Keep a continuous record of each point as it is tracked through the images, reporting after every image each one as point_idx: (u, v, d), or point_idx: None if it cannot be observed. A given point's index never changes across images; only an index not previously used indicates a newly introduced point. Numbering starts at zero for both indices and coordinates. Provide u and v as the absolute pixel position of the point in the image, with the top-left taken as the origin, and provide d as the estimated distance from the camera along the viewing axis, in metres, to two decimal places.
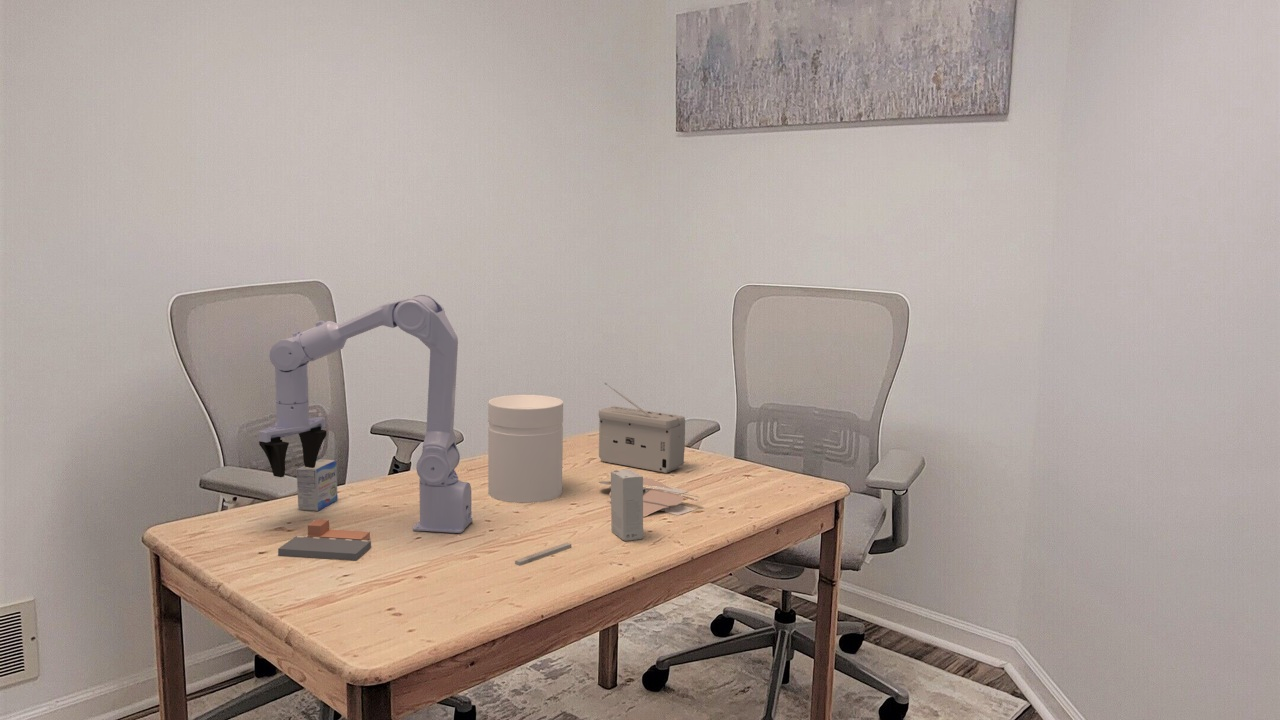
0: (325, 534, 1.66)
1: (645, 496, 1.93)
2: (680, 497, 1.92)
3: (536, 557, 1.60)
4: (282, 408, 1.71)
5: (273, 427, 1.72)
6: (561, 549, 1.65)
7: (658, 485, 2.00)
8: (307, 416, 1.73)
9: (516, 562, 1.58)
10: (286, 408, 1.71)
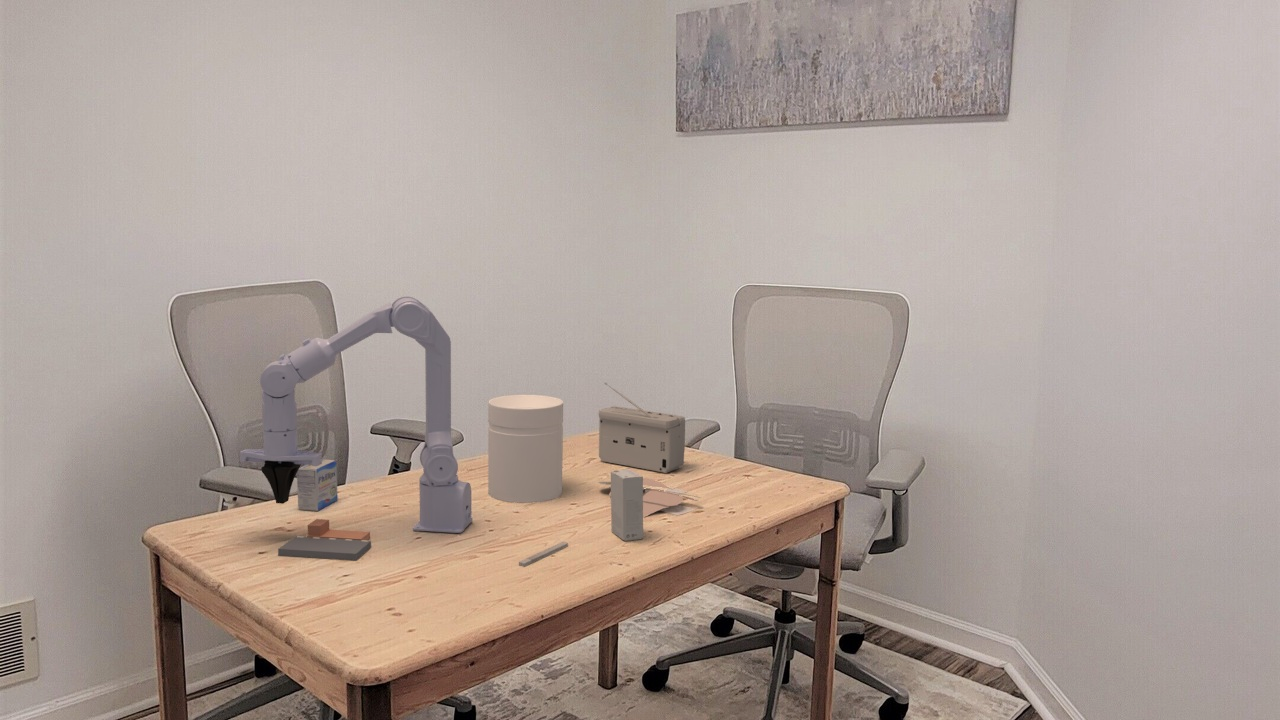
0: (325, 534, 1.66)
1: (645, 496, 1.93)
2: (680, 497, 1.92)
3: (538, 558, 1.60)
4: None
5: None
6: (559, 548, 1.65)
7: (658, 485, 2.00)
8: (278, 447, 1.63)
9: (520, 563, 1.57)
10: (263, 433, 1.64)
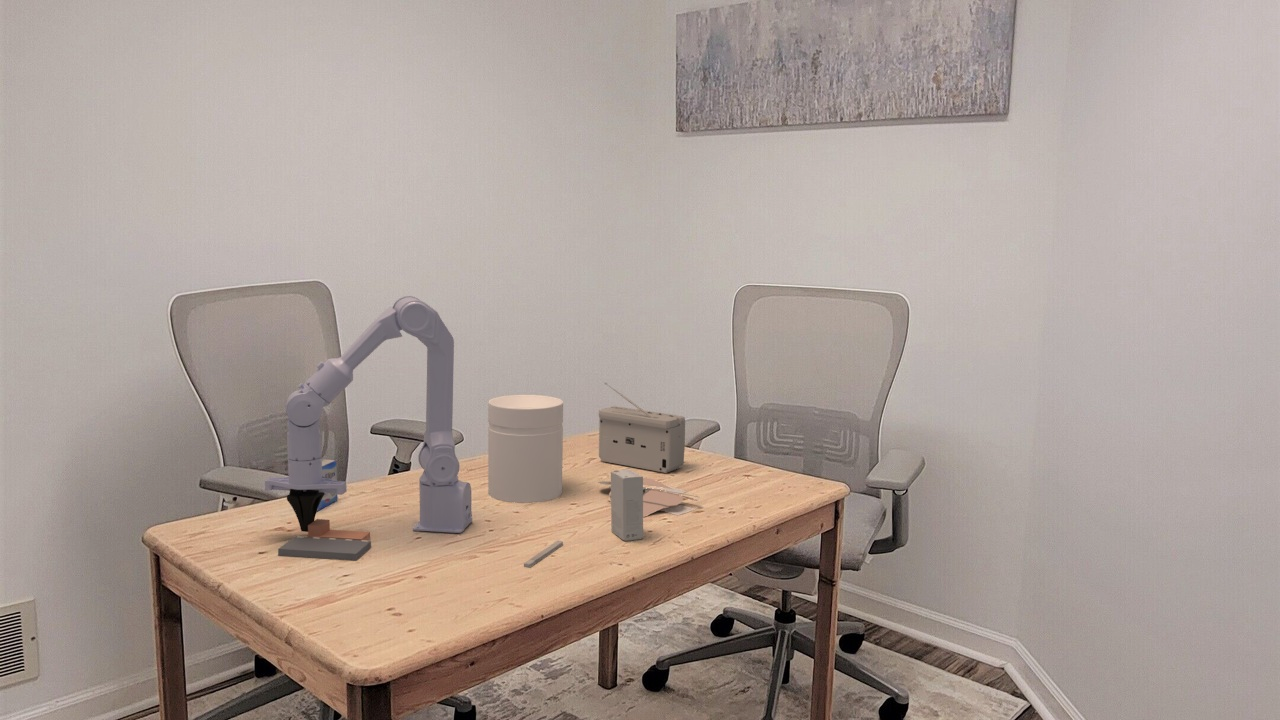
0: (325, 534, 1.66)
1: (645, 496, 1.93)
2: (680, 497, 1.92)
3: (540, 558, 1.60)
4: None
5: None
6: (556, 547, 1.65)
7: (658, 485, 2.00)
8: (304, 476, 1.63)
9: (525, 565, 1.56)
10: (288, 462, 1.65)
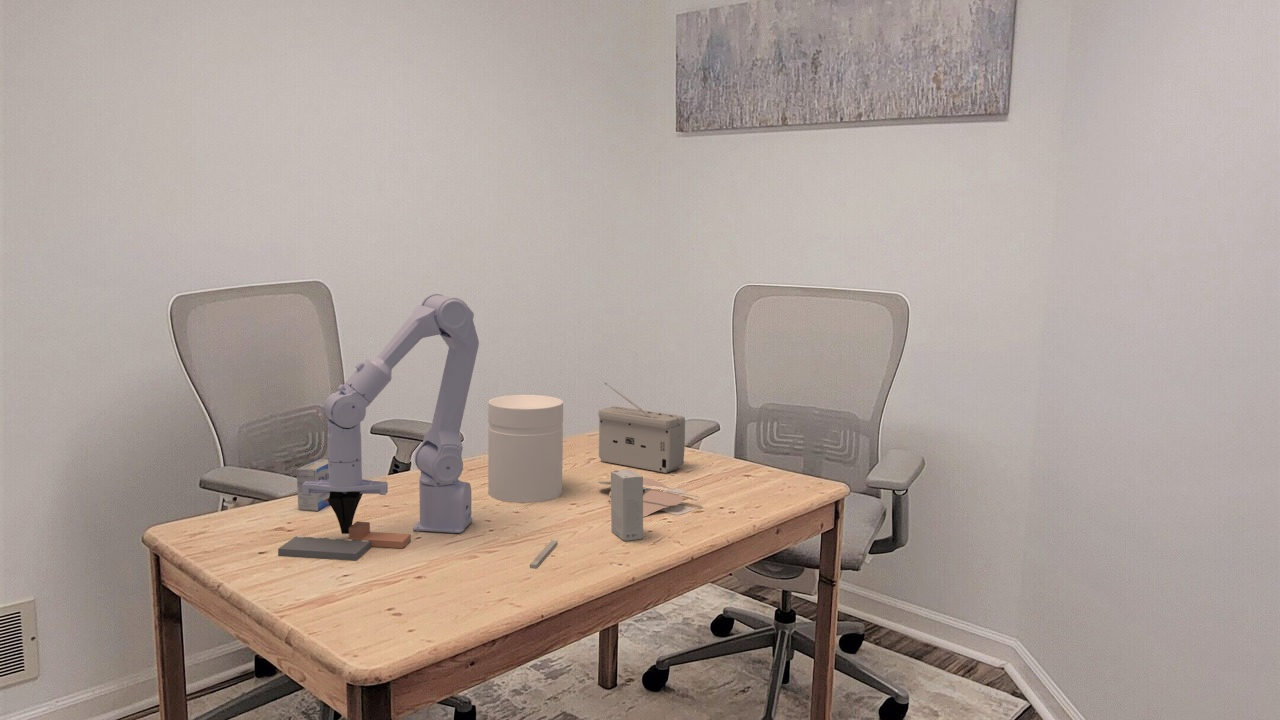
0: (366, 536, 1.66)
1: (645, 496, 1.93)
2: (680, 497, 1.92)
3: (543, 558, 1.60)
4: None
5: None
6: (553, 547, 1.66)
7: (657, 485, 2.00)
8: (347, 478, 1.62)
9: (531, 566, 1.56)
10: (328, 464, 1.63)
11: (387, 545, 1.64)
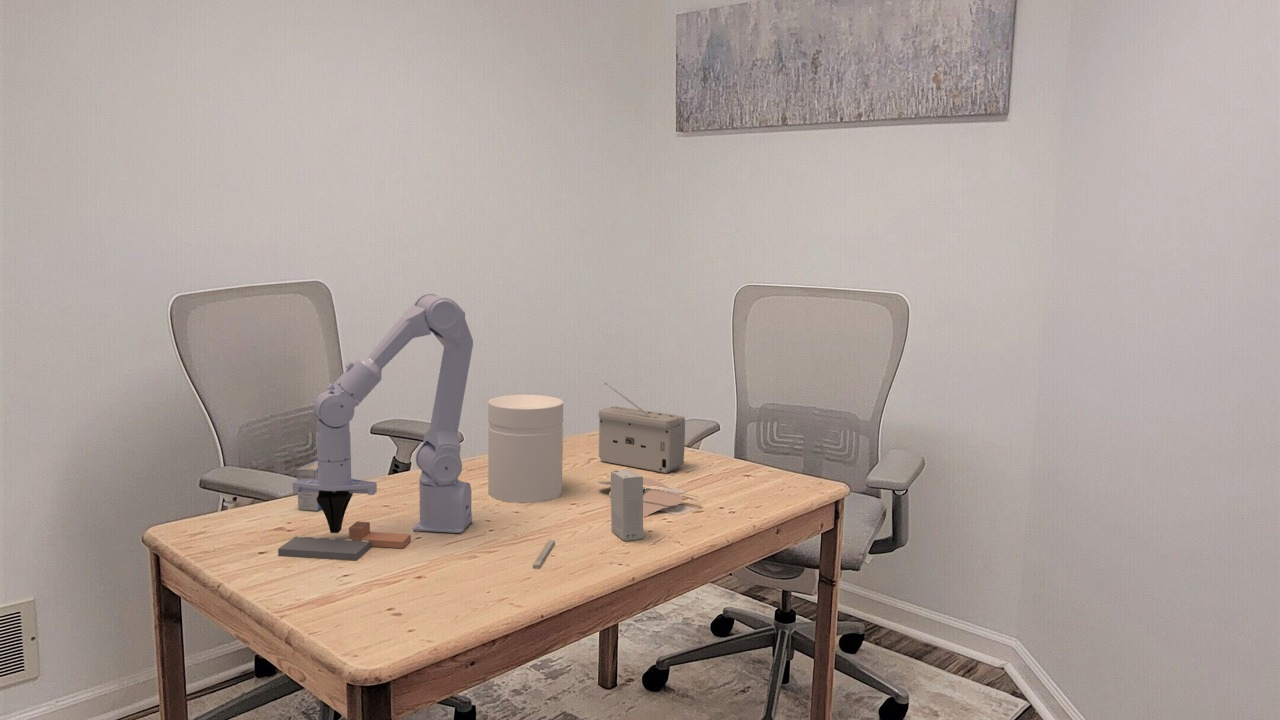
0: (366, 536, 1.66)
1: (645, 496, 1.93)
2: (680, 497, 1.92)
3: (544, 558, 1.60)
4: None
5: None
6: (551, 546, 1.66)
7: (657, 485, 2.00)
8: (335, 477, 1.62)
9: (534, 566, 1.56)
10: None
11: (387, 545, 1.64)
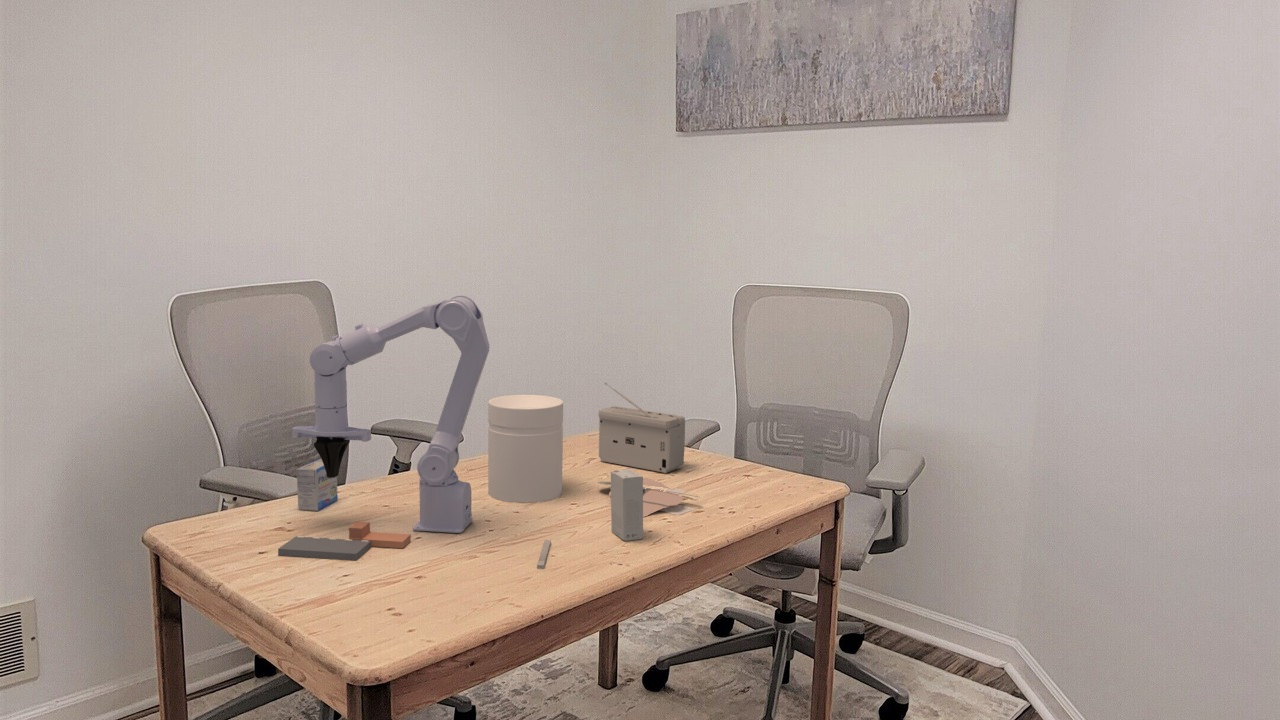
0: (366, 536, 1.66)
1: (645, 496, 1.93)
2: (680, 497, 1.92)
3: (546, 558, 1.60)
4: None
5: None
6: (549, 546, 1.66)
7: (657, 485, 2.00)
8: (330, 423, 1.70)
9: (539, 566, 1.56)
10: (315, 410, 1.72)
11: (387, 545, 1.64)
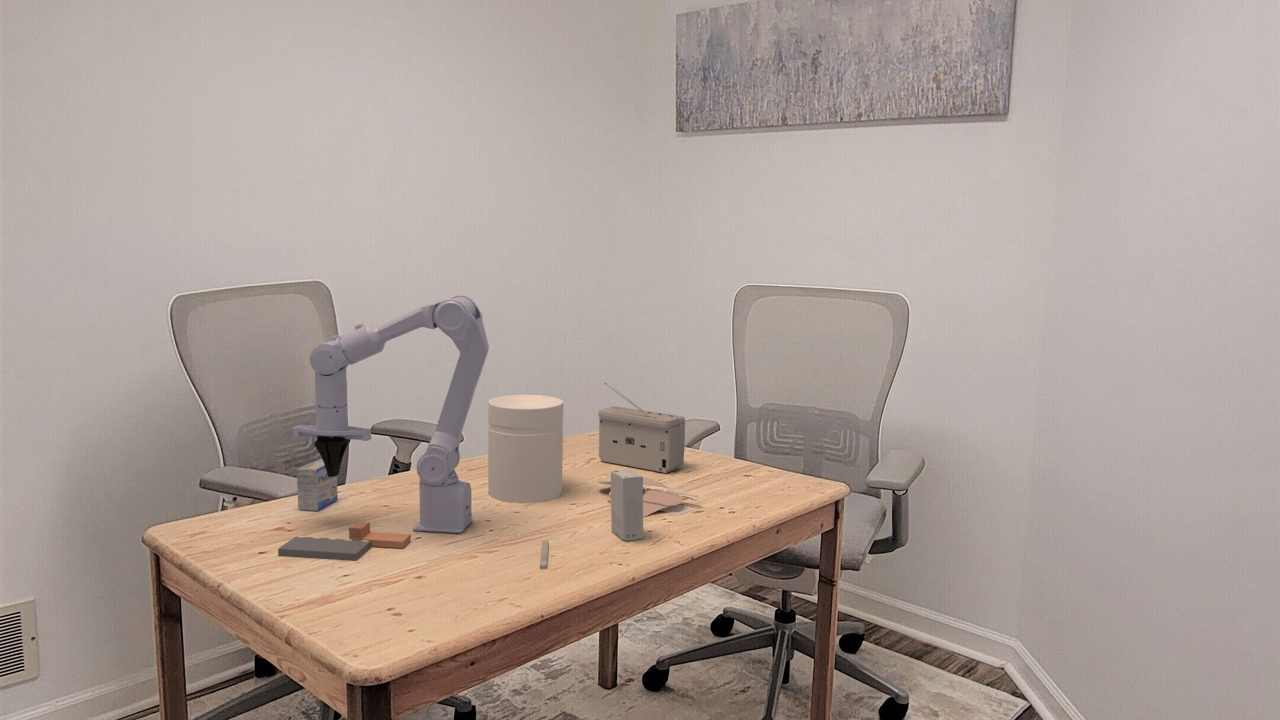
0: (366, 536, 1.66)
1: (645, 496, 1.93)
2: (680, 497, 1.92)
3: None
4: None
5: None
6: (547, 546, 1.66)
7: (657, 485, 2.00)
8: (331, 422, 1.71)
9: (541, 566, 1.56)
10: None
11: (387, 545, 1.64)
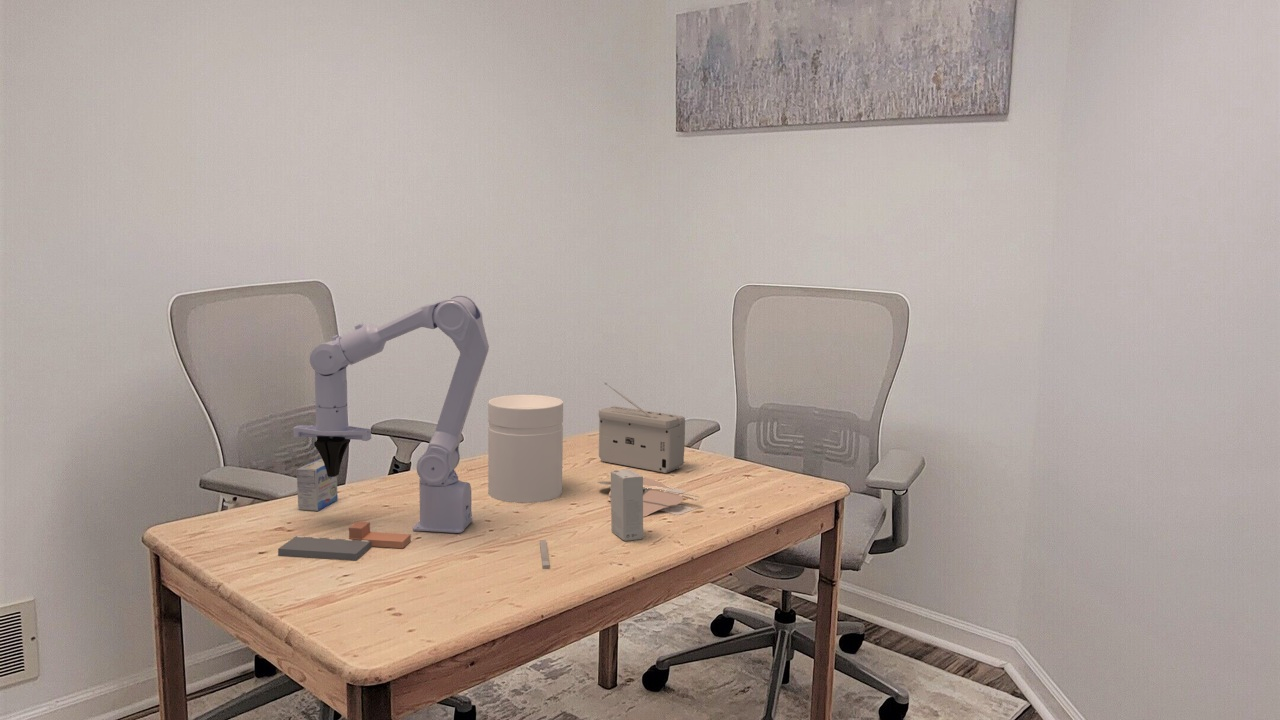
0: (366, 536, 1.66)
1: (645, 496, 1.93)
2: (680, 497, 1.92)
3: None
4: None
5: None
6: None
7: (657, 485, 2.00)
8: (331, 422, 1.71)
9: (544, 566, 1.56)
10: None
11: (387, 545, 1.64)
